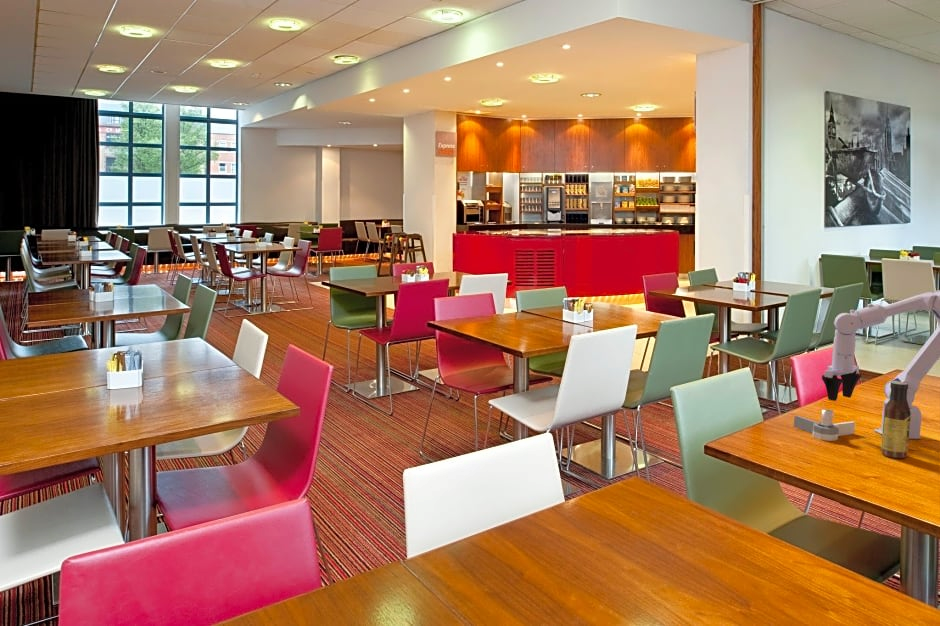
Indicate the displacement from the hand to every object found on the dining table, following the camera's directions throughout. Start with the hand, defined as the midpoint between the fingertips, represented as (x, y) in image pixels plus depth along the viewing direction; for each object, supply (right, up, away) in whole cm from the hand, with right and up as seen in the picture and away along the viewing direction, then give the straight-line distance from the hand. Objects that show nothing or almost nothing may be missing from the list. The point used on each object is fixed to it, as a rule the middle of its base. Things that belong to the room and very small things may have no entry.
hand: (839, 398), depth 216 cm
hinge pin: (-8, -10, -7) cm, 15 cm away
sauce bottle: (+3, -13, -22) cm, 26 cm away
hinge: (-6, -10, -2) cm, 11 cm away
